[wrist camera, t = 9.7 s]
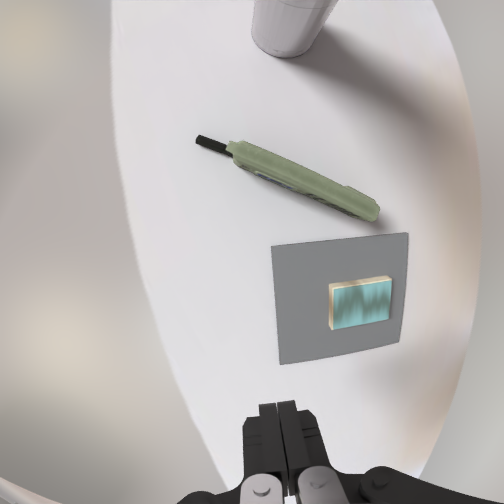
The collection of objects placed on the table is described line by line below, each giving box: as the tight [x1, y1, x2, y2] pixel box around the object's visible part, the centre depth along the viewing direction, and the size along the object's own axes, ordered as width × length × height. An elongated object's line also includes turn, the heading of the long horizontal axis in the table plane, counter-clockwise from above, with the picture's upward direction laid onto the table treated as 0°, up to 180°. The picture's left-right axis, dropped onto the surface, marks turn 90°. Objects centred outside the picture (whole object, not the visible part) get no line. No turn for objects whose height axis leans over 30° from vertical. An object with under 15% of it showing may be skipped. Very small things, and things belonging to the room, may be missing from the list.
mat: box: [271, 232, 408, 365], centre depth 43 cm, size 20×22×1 cm
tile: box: [329, 275, 392, 330], centre depth 42 cm, size 7×2×10 cm
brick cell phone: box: [196, 135, 380, 222], centre depth 36 cm, size 7×3×25 cm
